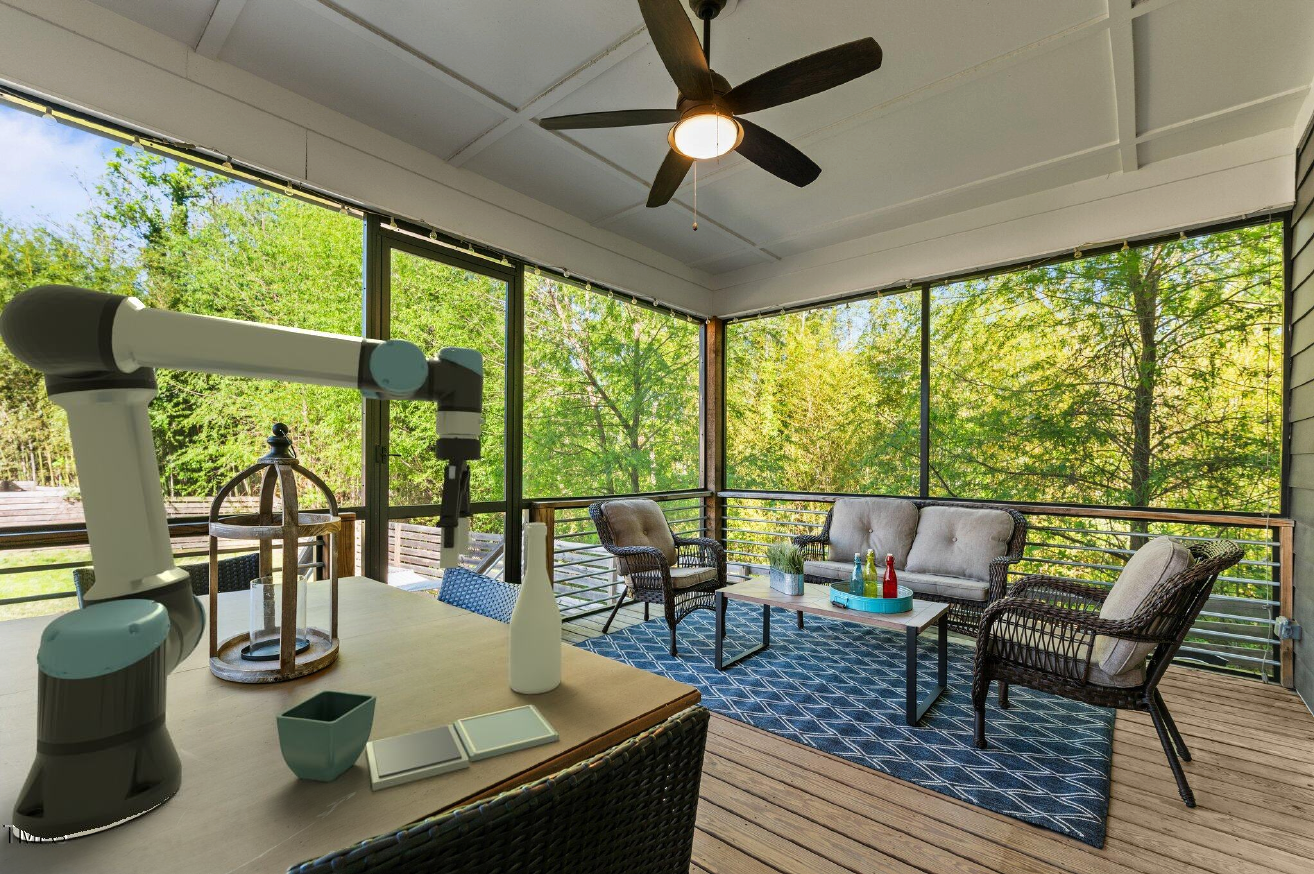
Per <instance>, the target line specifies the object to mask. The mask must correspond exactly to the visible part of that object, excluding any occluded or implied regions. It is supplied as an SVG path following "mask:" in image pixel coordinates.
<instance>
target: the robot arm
mask: <svg viewBox="0 0 1314 874" xmlns="http://www.w3.org/2000/svg"><path fill="white" fill-rule="evenodd" d="M0 337H1V340H2V342H3V344H4V346H5V347H6V348H7V349H8V351H9V352H10V353H11V354H12V355H13V356H14V357H15V358H16V359H18V360H19V361H20V362H22V364H24V365H26V366H28V367H30V368H31V369H34V370H36V371H37V372H38V371H39V372H42V373H43V378H44V383H45V384H44V385H45V391H46V395H47V396H46V397H47V399H48V401H49V402H52V403H53V404H55V405H56V406H59V407H60V408H61V409H62V410H64V411H65V412H66V418H67V419H66V420H67V424H68V430H69V435H70V440H71V447H72V452H73V459H74V464H75V468H76V474H77V480H78V486H79V487H78V488H79V493H80V498H81V503H82V509H83V510H82V511H83V515H84V521H85V526H86V531H87V537H88V543H89V544H88V545H89V548H90V549H89V550H90V554H91V561H92V567H93V570H94V578H95V582H94V584H93V585H92V586H91V587H90V588H89V589H88V590H87V592H85V594H83V597H82V598H83V603H84V604H83V605H84V608H78V609H74V610H71V611H69V612H66V613H64V614H63V615H61V616H59V617H56V618H55V619H54V620H52V621H51V622H50V623H49V624H48V625H47V626H46V627H45V628H44V629H43V631H42V634H41V637H40V642H39V644H40V645H39V648H38V652H37V655H36V664H37V668H38V669H37V671H38V672H37V711H36V713H37V714H36V716H37V718H36V723H37V724H36V755H35V758H34V760H33V763H32V765H31V768H30V769H29V772H28V774H27V777H26V778H25V782H24V783H23V786H22V788H21V790H20V793H19V795H18V797H17V800H16V801H15V804H14V806H13V810H12V814H11V815H12V819H11V820H12V821H11V825H12V824H13V825H14V826H15V827H16V828H18V829H20V830H22V831H25V832H26V833H29V834H30V835H32V836H35V837H40V838H43V839H44V838H45V839H49V838H56V837H57V838H58V837H63V836H65V835H70V834H74V833H78V832H81V831H82V832H83V831H87V830H91V829H95V828H100V827H103V826H107V825H110V824H112V823H114V822H118V821H120V820H122V819H126V818H127V817H131V816H133V815H137V814H138V813H142V812H143V811H147V810H149V809H151V808H153V807H154V806H156V805H158V804H160V803H162V802H163V801H164V800H165V799H167V798H168V797H170V796H171V795H172V794H173V793H174V792H175V793H177V791H178V790H179V789H180V787H181V784H182V781H183V780H182V777H183V776H182V775H183V774H182V773H183V772H182V771H183V769H182V767H183V766H182V760H181V758H180V756H179V753H178V752H177V749H176V747H175V744H174V741H173V739H172V738H171V734H170V732H169V730H168V728H167V723H166V722H167V720H166V718H167V713H166V712H167V689H168V688H167V685H168V683H167V681H168V676H169V675H170V674H171V673H172V672H173V671H175V669H176V668H178V666H179V665H180V664H181V663H183V662H184V661H185V660H186V659H187V658H188V657H189V656H191V654H192V653H193V652H194V651H195V649H197V647H198V645H199V643H200V641H201V639H202V638H203V634H204V631H205V629H206V625H207V624H206V623H207V614H206V608H205V605H204V604H203V602H202V601H201V600H200V598H199V597H198V596H197V595H196V594H194V593H193V588H192V582H191V576H190V573H189V572H188V571H186V570H185V569H182V568H180V567H179V566H177V565H176V564H175V559H174V553H173V549H172V543H171V542H172V541H171V537H170V531H169V525H168V519H167V513H166V506H165V501H164V495H163V490H162V484H161V483H162V482H161V478H160V471H159V466H158V460H157V453H156V448H155V444H154V443H155V442H154V437H153V430H152V425H151V418H150V413H149V408H148V406H149V404H150V403H151V402H152V401H153V399H155V397H157V396H158V395H159V393H160V392H159V385H158V381H157V379H158V378H157V373H156V371H157V370H158V369H163V370H164V369H165V370H173V371H182V372H190V373H191V372H192V373H200V374H211V375H219V376H221V375H222V376H227V377H228V376H229V377H237V378H238V377H239V378H249V379H257V380H265V381H266V380H267V381H277V382H287V383H295V384H306V385H316V386H323V387H334V388H340V389H342V388H344V389H352V390H359V393H360V395H361V396H362V397H363V398H366V399H374V400H380V401H386V400H389V401H408V402H409V401H411V402H413V401H414V402H428V403H432V402H434V403H436V414H435V415H436V417H435V435H437V436H438V438H436V439H435V450H434V451H435V452H434V453H435V454H434V457H435V458H436V460H439V461H448V465H445V466H444V468H443V472H444V473H443V484H442V485H443V486H442V494H441V495H442V496H441V502H440V503H441V505H440V513H439V519H438V521H436V523H435V528H436V529H437V528H439V529H440V546H439V547H440V552H439V557H440V558H439V569H458V568H459V555H460V554H461V555H462V554H463V555H465V554H467V555H468V554H469V536H470V530H469V529H470V518H474V511H472V508H471V490H470V489H471V476H472V474H471V472H472V471H471V470H470V469H471V466H470V463H469V464H468V463H467V461H479V460H481V457H482V441H481V439H479V438H478V437H481V435H482V426H481V425H485V424H486V420H485V419H484V418H482V414H483V397H484V396H483V393H484V378H485V375H484V358H483V357H484V356H483V354H482V353H481V352H480V351H479V350H477V349H474V348H470V347H463V346H444V347H440V349H438V355H437V357H426V354H425V353H424V351H422V349H421V348H420V347H419V346H418V345H417V344H415V343H414V342H412V341H409V340H407V339H403V338H392V339H388V340H380V339H373V338H365V337H364V338H363V337H360V336H351V335H344V334H339V333H331V332H325V331H324V332H323V331H317V330H308V329H302V328H296V327H290V326H289V327H288V326H281V325H276V324H268V323H267V324H266V323H261V322H255V321H254V322H253V321H245V320H241V319H232V318H225V317H218V316H211V315H206V314H205V315H204V314H197V313H189V312H184V311H177V310H169V309H168V310H167V309H162V308H155V307H148V306H145V305H144V303H142V301H140V300H139V299H138V298H137V297H134V296H128V295H122V294H115V293H109V292H105V291H98V290H95V289H94V290H93V289H88V288H85V287H84V288H83V287H80V286H74V285H71V284H70V285H69V284H61V283H59V284H57V283H55V284H43V285H37V286H33V287H30V288H27V289H25V290H23V291H21V292H19V293H17V294H16V295H15V296H14V297H12V298H11V299H9V301H7V302H6V303H5V306H4V307H3V310H2V311H1V313H0ZM179 786H180V787H179ZM178 788H179V789H178ZM177 789H178V790H177ZM176 790H177V791H176ZM172 796H173V795H172ZM172 796H171V797H172ZM171 797H170V798H171ZM162 804H163V803H162Z"/></svg>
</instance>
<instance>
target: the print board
mask: <svg viewBox="0 0 1314 874" xmlns="http://www.w3.org/2000/svg"><path fill="white" fill-rule="evenodd" d="M452 726H453V728H454V730H455V732H456V734H457V736H458V738H459V740H460V742H461V744H462V746H463V748H464V750H465V753H466V755H467V757H468V759H469V763H472V762H475V761H480V760H485V759H488V758H492V757H495V756H500V755H503V754H508V753H512V752H517V751H520V750H524V749H528V748H531V747H532V748H533V747H535V746H541V745H545V744H549V743H552V742H556V741H559V740H560V739H559V733H558V732H557V731H556V729H554V727H553V726H552V725H551V724H550V722H549V721H548V720H547V719H546V718H545V717H544V716H543V714H542V712H540V711H539V709H538V708H537V707H536V705H534V704H527V705H523V706H517V707H513V708H507V709H504V710H503V709H502V710H498V711H493V712H488V713H483V714H478V715H475V716H470V717H465V718H461V719H457V720H455V721H453V724H452Z"/></svg>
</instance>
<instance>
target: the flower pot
mask: <svg viewBox="0 0 1314 874" xmlns="http://www.w3.org/2000/svg"><path fill="white" fill-rule="evenodd" d="M376 702H377V695H374V694H366V693H365V694H364V693H356V692H355V693H354V692H346V691H339V690H330V689H327V690H325V689H323V690H321V691H319V692H318V693H315V694H314V695H312V696H310V697H308V698H307V699H304V700H303V701H301V702H299V703H298V704H296V705H294V706H292V707H290V708H288V709H286V710H284V711H282V712H280V713H279V714H277V715H276V716H275V718H276V727H277V733H278V741H279V746H280V751H281V752H280V753H281V755H282V757H283V759H284V762H285V764H286V765H287V766H288V768H289V769H290V771H291V772H292V773H293V774H294V775H295V776H296V777H297V778H298V779H303V780H304V779H305V780H312V781H319V782H324V783H325V782H326V783H329V782H332V781H333V780H335V779H337V778H338V776H340V775H342V774H343V773H344V772H345V771H347V770H348V769H349V768H351V767H352V766H353V765H355V764H356V763H357V761H358V760H359V758H360V757H361V755H362V753H363V752H364V750H365V749H366V744H367V742H369V738H370V736H371V734H372V728H373V723H374V716H375V709H376Z"/></svg>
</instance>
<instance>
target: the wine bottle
mask: <svg viewBox="0 0 1314 874" xmlns="http://www.w3.org/2000/svg"><path fill="white" fill-rule="evenodd" d="M526 535H527V536H528V537H527V539H528V541H527V566H526V571H525V574H524V577H523V580H522V584H521V585H520V586H521V587H520V590H519V593H518V596H517V599H516V602H515V605H514V607H513V610H512V611H511V612H512V613H511V615H510V616H511V617H510V620H509V625H508V626H509V633H508V639H509V640H508V643H509V645H508V684H509V687H510V688H511V689H512V691H514V692H516V693H519V694H522V695H523V694H525V695H540V694H544V693H548V692H550V691H552V690H555V688H557V687H558V686H559V685H560V682H561V679H562V627H563V625H562V624H563V623H562V615H561V612H560V609H559V606H558V602H557V600H556V597H555V594H554V590H553V587H552V584H551V581H550V577H549V574H548V569H547V557H546V555H547V554H546V553H547V551H546V549H547V545H546V544H547V542H546V541H547V540H546V539H547V538H546V537H547V535H548V526H547V524H546V523H545V522H537V521H536V522H529V523H528V526H527V527H526Z"/></svg>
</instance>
